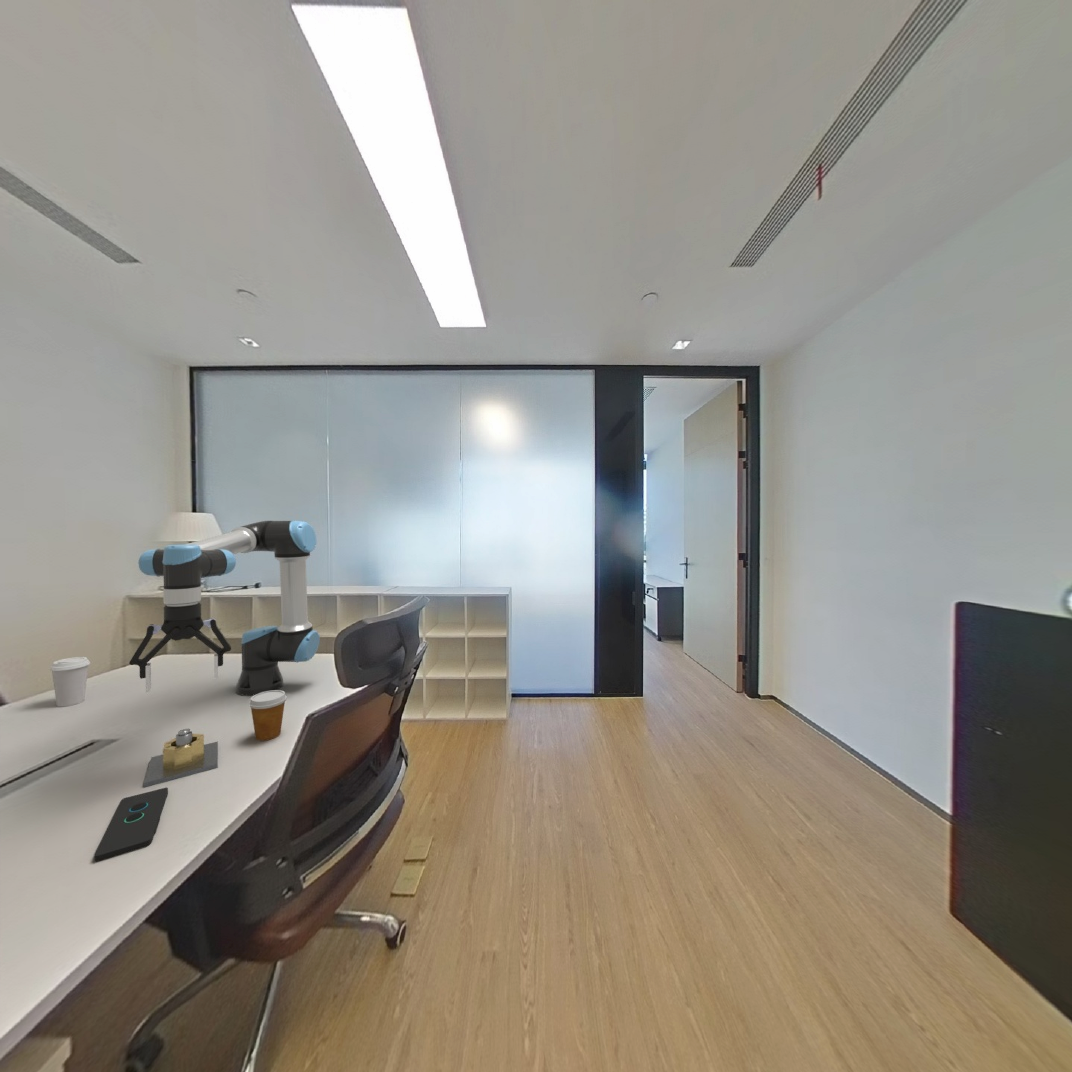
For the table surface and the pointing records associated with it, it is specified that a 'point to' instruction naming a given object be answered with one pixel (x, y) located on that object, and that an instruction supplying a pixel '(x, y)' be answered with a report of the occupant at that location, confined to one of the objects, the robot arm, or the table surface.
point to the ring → (183, 753)
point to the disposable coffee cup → (267, 713)
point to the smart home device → (132, 824)
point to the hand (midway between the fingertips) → (183, 684)
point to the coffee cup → (70, 680)
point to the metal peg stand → (161, 775)
